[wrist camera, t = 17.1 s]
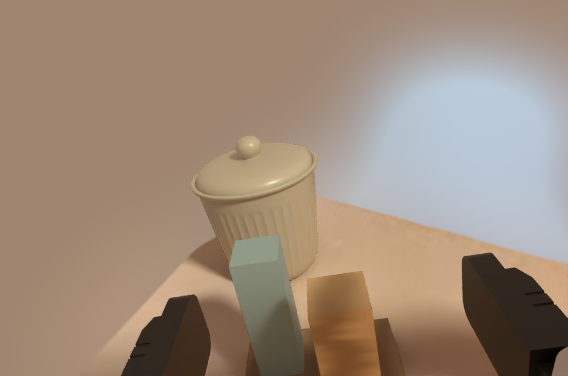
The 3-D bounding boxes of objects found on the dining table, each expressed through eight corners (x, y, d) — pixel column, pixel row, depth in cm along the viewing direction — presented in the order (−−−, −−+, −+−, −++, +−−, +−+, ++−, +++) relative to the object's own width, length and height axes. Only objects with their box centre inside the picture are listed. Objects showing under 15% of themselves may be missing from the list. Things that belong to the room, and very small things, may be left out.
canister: (358, 252, 64) (339, 120, 55) (273, 321, 53) (234, 171, 45) (279, 224, 76) (254, 114, 68) (198, 276, 66) (156, 153, 58)
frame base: (389, 331, 48) (375, 210, 41) (438, 503, 31) (427, 346, 25) (254, 348, 49) (221, 234, 43) (234, 521, 33) (175, 377, 27)
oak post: (379, 394, 38) (362, 270, 33) (389, 441, 34) (372, 309, 29) (331, 399, 39) (306, 278, 33) (335, 446, 35) (308, 317, 29)
